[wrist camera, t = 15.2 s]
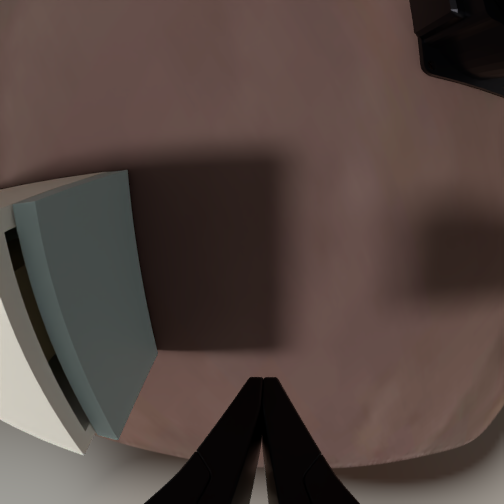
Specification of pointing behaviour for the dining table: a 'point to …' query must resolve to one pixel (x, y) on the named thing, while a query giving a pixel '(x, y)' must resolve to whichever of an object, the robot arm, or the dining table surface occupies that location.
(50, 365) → the panel
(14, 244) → the dome button cube
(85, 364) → the tray
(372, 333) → the dining table surface
